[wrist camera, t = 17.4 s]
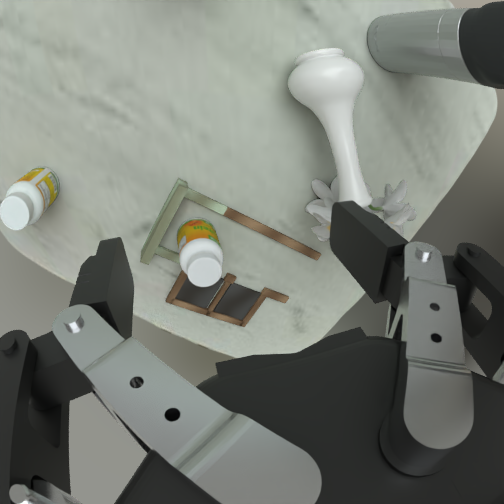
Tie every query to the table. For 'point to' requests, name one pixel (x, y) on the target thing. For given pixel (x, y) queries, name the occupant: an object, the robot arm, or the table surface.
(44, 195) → the supplement bottle
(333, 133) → the flower vase
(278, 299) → the lane board
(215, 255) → the supplement bottle
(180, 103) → the table surface
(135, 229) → the table surface
